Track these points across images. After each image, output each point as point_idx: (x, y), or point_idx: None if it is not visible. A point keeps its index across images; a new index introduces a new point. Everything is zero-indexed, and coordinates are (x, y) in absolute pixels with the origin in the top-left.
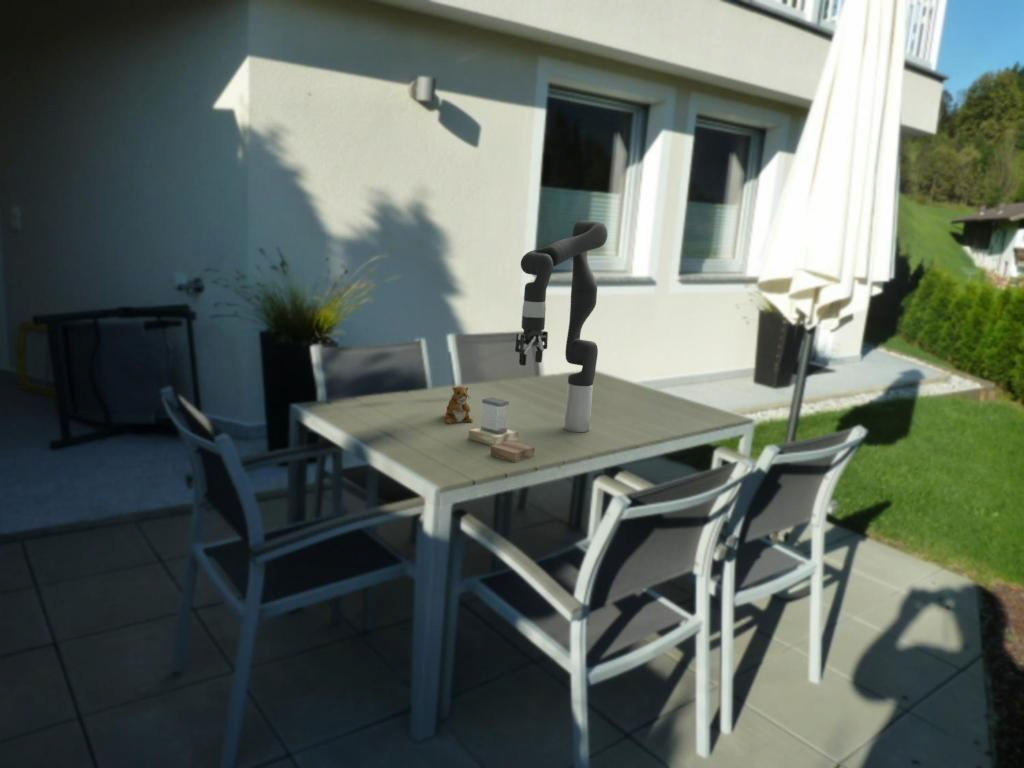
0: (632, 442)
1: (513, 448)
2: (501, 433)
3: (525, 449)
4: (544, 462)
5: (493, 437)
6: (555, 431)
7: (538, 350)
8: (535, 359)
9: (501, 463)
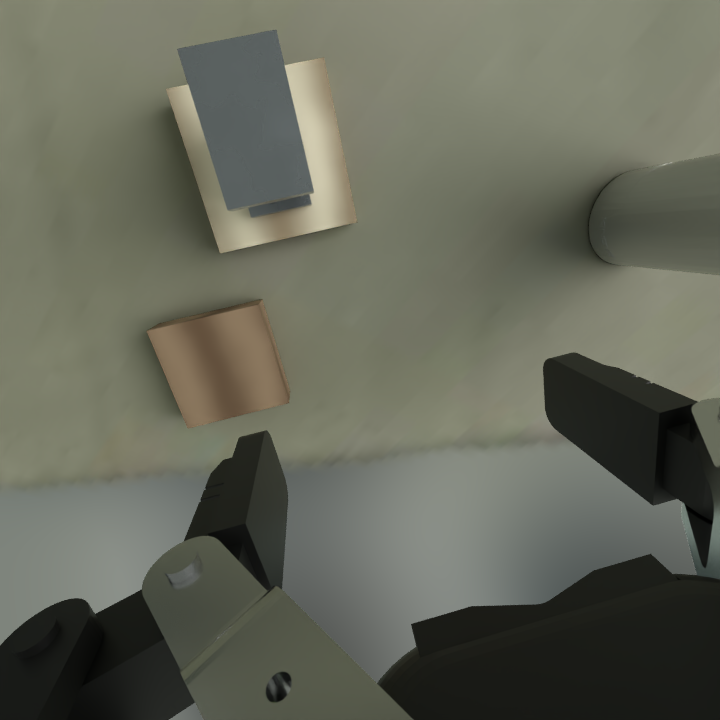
0: None
1: (211, 386)
2: (277, 212)
3: (244, 410)
4: (281, 446)
5: (216, 241)
6: (547, 203)
7: (678, 462)
8: (561, 365)
9: (151, 405)
